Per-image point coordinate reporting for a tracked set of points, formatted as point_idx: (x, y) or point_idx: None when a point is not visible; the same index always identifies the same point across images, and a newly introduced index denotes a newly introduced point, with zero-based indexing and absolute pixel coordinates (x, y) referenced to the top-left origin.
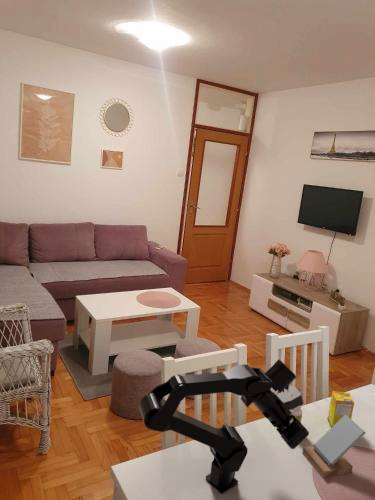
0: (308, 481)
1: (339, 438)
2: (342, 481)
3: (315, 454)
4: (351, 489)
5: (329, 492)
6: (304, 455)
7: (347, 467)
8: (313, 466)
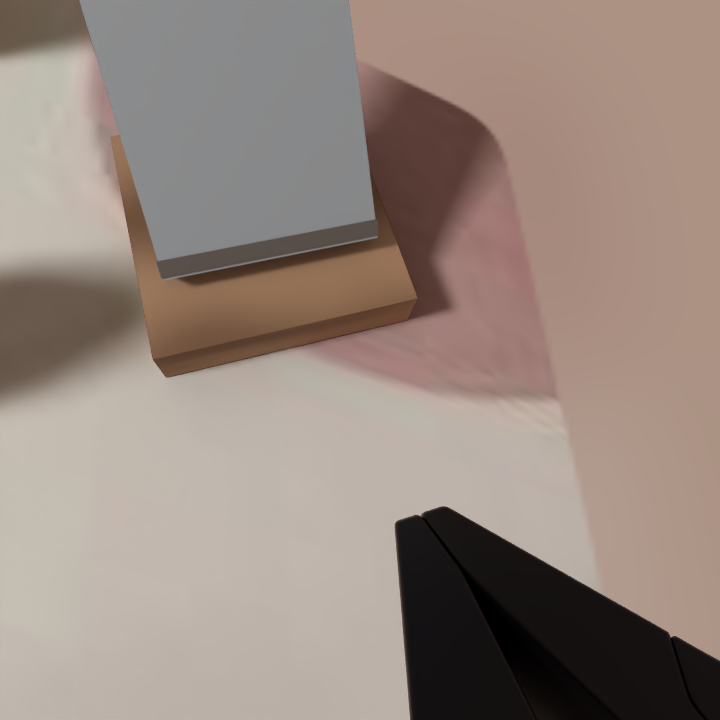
0: (452, 428)
1: (236, 22)
2: (420, 216)
3: (240, 291)
4: (474, 195)
5: (521, 325)
6: (195, 369)
7: None
8: (308, 343)
